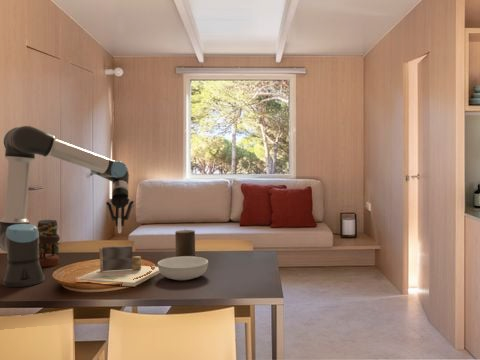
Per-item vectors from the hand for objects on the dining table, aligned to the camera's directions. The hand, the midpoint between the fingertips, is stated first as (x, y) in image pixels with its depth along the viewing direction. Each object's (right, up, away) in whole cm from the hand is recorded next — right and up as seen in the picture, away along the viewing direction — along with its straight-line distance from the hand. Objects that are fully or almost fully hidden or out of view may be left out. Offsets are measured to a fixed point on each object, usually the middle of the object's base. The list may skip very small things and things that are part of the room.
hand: (119, 231), depth 206 cm
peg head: (+3, -16, -9) cm, 18 cm away
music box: (-37, -18, +13) cm, 43 cm away
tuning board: (+4, -18, -13) cm, 22 cm away
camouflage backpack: (-48, -17, +37) cm, 63 cm away
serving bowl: (+31, -18, -17) cm, 40 cm away
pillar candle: (+28, -16, +20) cm, 38 cm away
